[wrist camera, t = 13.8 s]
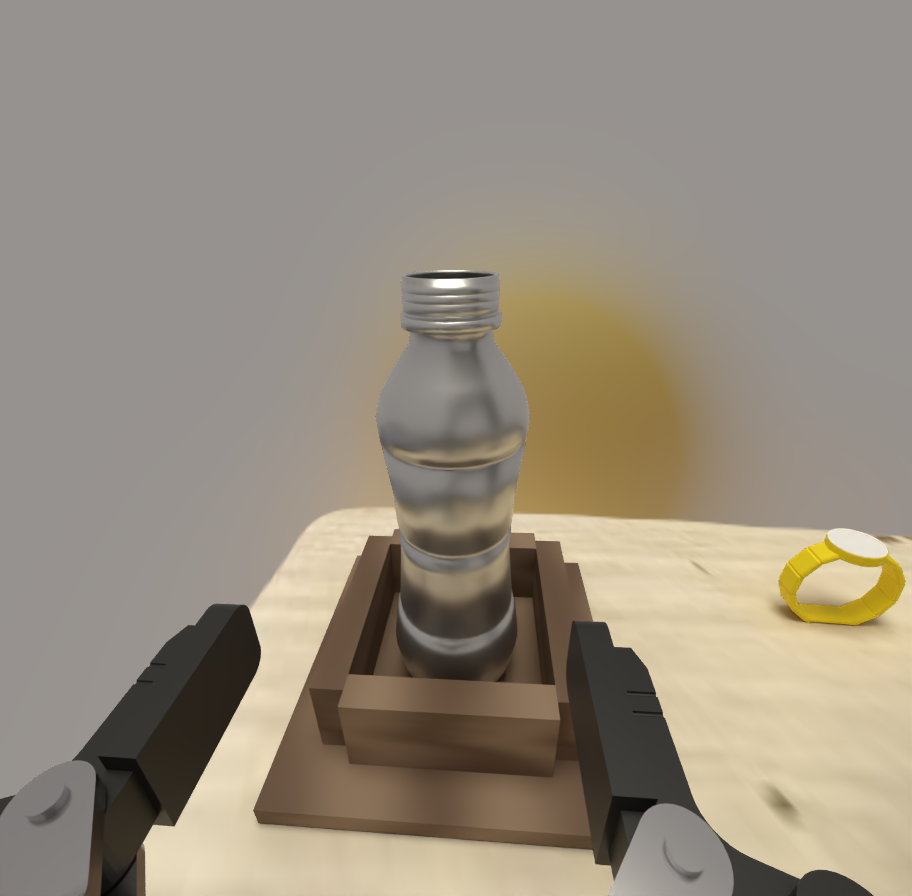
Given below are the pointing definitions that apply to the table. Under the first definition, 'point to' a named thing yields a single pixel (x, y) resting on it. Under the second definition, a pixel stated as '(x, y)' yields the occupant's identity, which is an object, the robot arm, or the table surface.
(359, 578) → the bottle rack
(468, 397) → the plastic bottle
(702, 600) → the table surface
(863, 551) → the watch
